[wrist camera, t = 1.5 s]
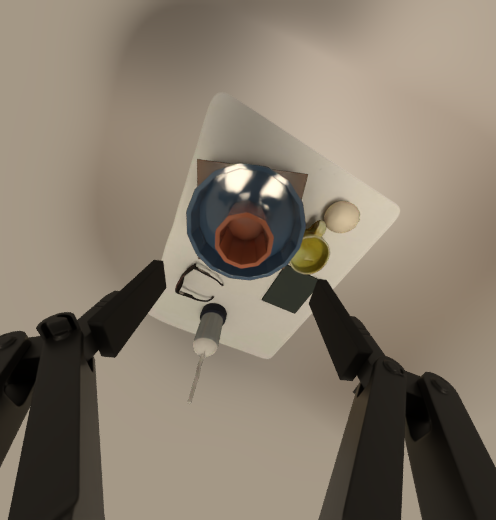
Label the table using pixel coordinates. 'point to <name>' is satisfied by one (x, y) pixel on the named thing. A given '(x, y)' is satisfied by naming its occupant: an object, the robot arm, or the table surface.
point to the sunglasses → (183, 279)
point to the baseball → (341, 217)
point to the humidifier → (207, 336)
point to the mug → (312, 250)
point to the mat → (290, 289)
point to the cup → (244, 235)
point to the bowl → (242, 189)
